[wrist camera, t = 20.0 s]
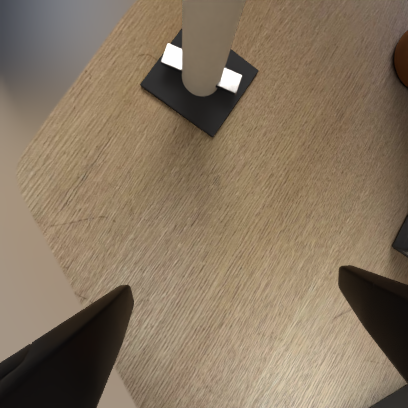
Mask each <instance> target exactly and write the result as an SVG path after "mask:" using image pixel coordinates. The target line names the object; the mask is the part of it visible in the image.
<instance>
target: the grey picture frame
mask: <svg viewBox="0 0 408 408" xmlns="http://www.w3.org/2000/svg"><path fill="white" fill-rule="evenodd" d="M370 408H408V384H407V385H406V386H404V387H403V388H401V389H399V390H398V391H396V392H394V393H393V394H391V395H389V396H388V397H386V398H385V399H383V400H381V401H380V402H378V403H376V404H375V405H373V406H371V407H370Z"/></svg>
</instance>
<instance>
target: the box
mask: <svg viewBox="0 0 408 408" xmlns="http://www.w3.org/2000/svg"><path fill="white" fill-rule="evenodd" d="M392 247H393V248H395V249H396V250H398V251H399V252H401V253H402V254H404V255H405V256H407V257H408V216H407V218H406V220H405V222H404V224H403V226H402V228H401V230H400V232H399V234H398V236H397V238H396V240H395V242H394V244H393V246H392Z"/></svg>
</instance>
